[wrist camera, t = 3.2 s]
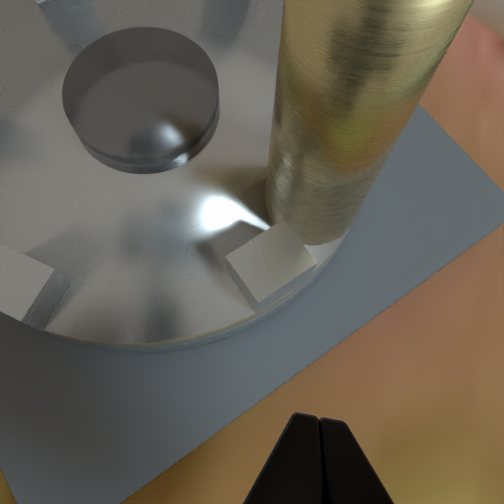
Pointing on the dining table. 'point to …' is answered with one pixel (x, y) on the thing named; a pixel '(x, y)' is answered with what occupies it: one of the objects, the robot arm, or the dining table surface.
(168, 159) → the metal disc with post
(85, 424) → the housing plate
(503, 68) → the dining table surface
